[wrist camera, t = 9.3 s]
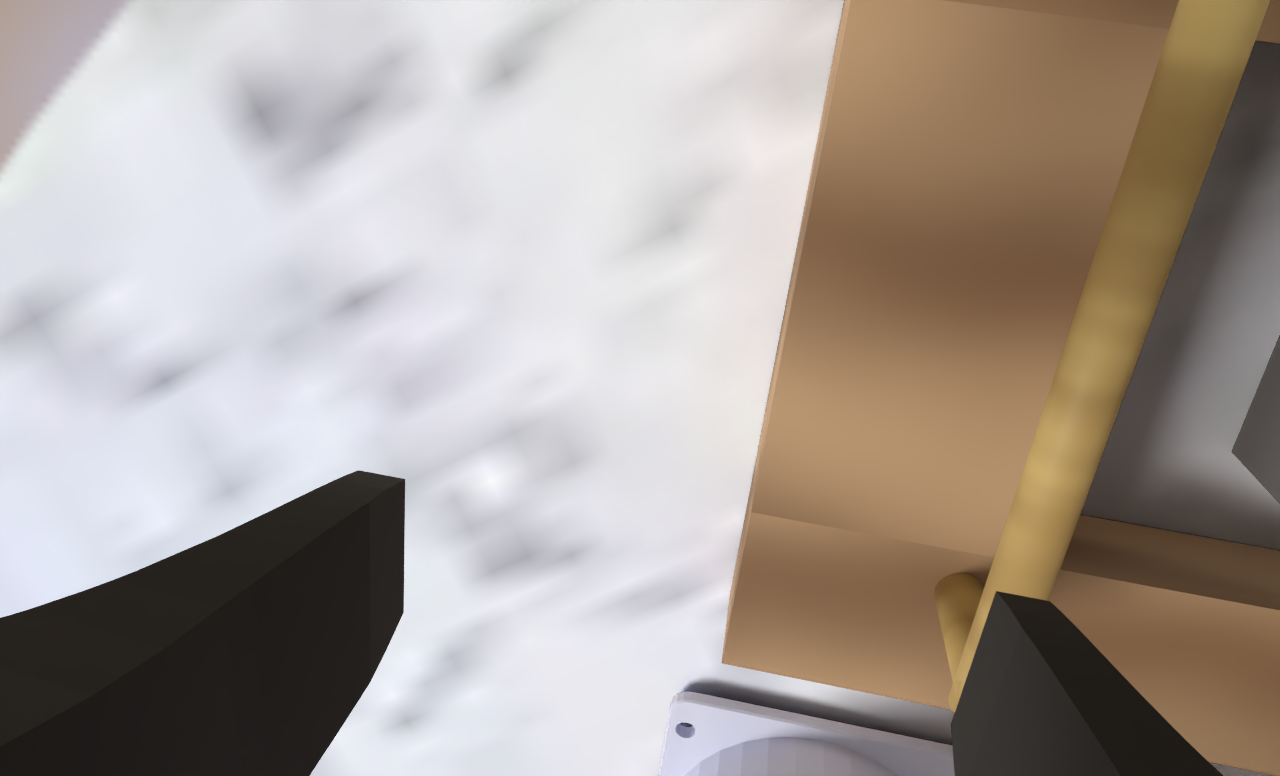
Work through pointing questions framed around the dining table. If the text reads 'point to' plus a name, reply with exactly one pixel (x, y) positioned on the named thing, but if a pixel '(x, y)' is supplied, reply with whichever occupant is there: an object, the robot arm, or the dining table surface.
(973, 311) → the tan wooden frame
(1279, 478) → the grey rectangular block
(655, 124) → the dining table surface
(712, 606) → the dining table surface
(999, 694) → the robot arm
